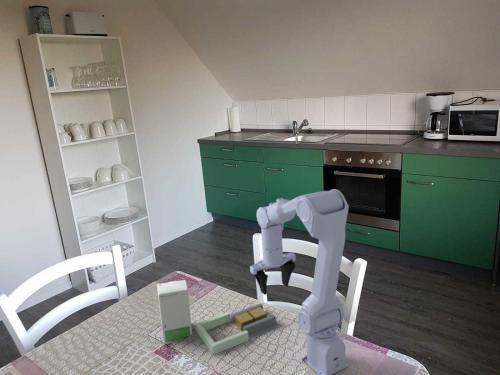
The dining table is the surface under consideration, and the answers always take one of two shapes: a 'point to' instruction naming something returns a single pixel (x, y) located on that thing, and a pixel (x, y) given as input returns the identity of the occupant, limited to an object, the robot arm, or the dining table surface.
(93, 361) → the dining table surface
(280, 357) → the dining table surface
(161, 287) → the skincare box
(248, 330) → the green and grey tray
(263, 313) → the chip
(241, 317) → the chip
